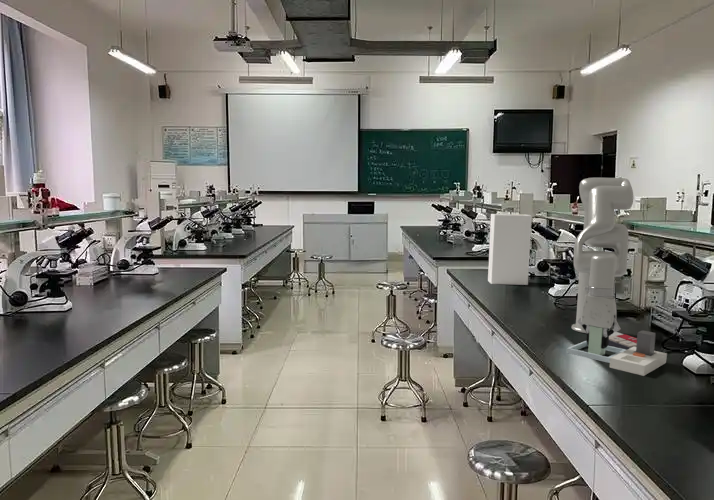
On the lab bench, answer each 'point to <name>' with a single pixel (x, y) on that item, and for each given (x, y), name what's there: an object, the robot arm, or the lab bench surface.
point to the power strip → (637, 361)
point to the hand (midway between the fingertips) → (597, 345)
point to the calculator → (622, 341)
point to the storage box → (509, 249)
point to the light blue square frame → (576, 351)
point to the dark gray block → (645, 343)
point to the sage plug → (595, 341)
